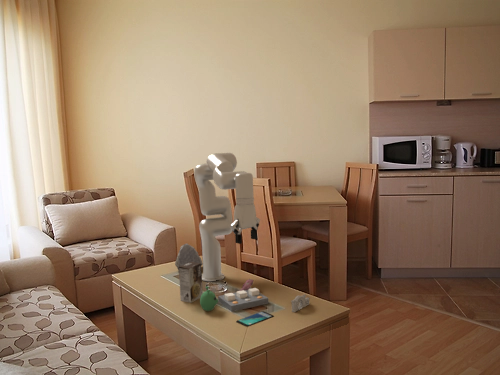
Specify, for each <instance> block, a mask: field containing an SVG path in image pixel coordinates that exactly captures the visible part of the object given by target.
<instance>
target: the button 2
mask: <svg viewBox="0 0 500 375" xmlns="http://www.w3.org/2000/svg"><path fill="white" fill-rule="evenodd" d="M248 293H249V295H251V296H255V295H259V293H260V290H259V289H258V288H256V287H253V288H252V287H251V289H248Z"/></svg>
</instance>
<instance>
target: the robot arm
mask: <svg viewBox="0 0 500 375" xmlns="http://www.w3.org/2000/svg"><path fill="white" fill-rule="evenodd" d="M237 164H238V160H237V157H236V156H235V155H234V154H233V152H221V153H220V152H218V153H212V154H210V155H208V157H207V158H206V163H202V164H198V165H196V166H195V167H194V171H193V175H194V176H193V178H194V181H195V183H196V186H197V188H198V196H199V207H200V212H201V214H202V216H217V215H218V217H209V218H205V219H202V220H200V222H199V226H198V228H199V233H200V239H201V250H202V251H201V253H202V254H201V256H202V258H201V259H202V263H203V264H202V282H217V281H216V280H219V281H221V280H223V279H225V274H224V273H222V258H221V257H222V255H221V254H222V252H221V244H220V241H219V240H218V239H217V238H216V237H219V236H225V235H226V236H228V235H230V234H231V233H233V234H234V238H235V240H234V241H235V244H238V245H242V243H243V239H242V238H243V237H242V236H243V235H242V231H243V230H246V229H250V239H251V240H258V230H259V226H260V222H261V219H260V218H259V217H257V211H256V206H255V204H254V203H255V198H254V176H253V174H252V173H251V172H247V171H244V170H240V171H235V170H236V167H237ZM211 181H213V182H214V183H213V182H211ZM214 184H215V185H216V187H218V188H219V189H221V190H226V191H227V190H234V189H235V204H236V205H235V206H234V209H233V210H234V211H233V212H232V203H231V201H230V199H229V198H228V197H227V196H226V195H220V196H219V195H218V196H217V194H216V187H215V186H214ZM232 213H233V214H232ZM219 215H220V216H219Z"/></svg>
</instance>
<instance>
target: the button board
mask: <svg viewBox="0 0 500 375" xmlns="http://www.w3.org/2000/svg"><path fill="white" fill-rule="evenodd" d="M246 292H247V297H246V298H241V299H240V298H238V297H237V293H236V292H232V293H233V294H234V295H235V300H231V301H226V300H225V299H224V294H220V295H217V297H218V298H217V299H218V303H220V304H221V305H222V306H223V307H225V308H226V309H227V310H228V311H229V312H235V311H241V310H246V309H250V308H253V307H258V306H262V305H267V304H269V302H270V301H269V297H267V296H266V295H264V293H263V294H262V292H259V295H255V296H251V295H249V293H248V290H246Z"/></svg>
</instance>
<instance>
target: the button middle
mask: <svg viewBox="0 0 500 375" xmlns="http://www.w3.org/2000/svg"><path fill="white" fill-rule="evenodd" d="M235 293H237V297H238V298H240V299H241V298H246V297H247V292H246V291H244V290H242V291H239V290H237V291H236V292H235Z"/></svg>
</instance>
